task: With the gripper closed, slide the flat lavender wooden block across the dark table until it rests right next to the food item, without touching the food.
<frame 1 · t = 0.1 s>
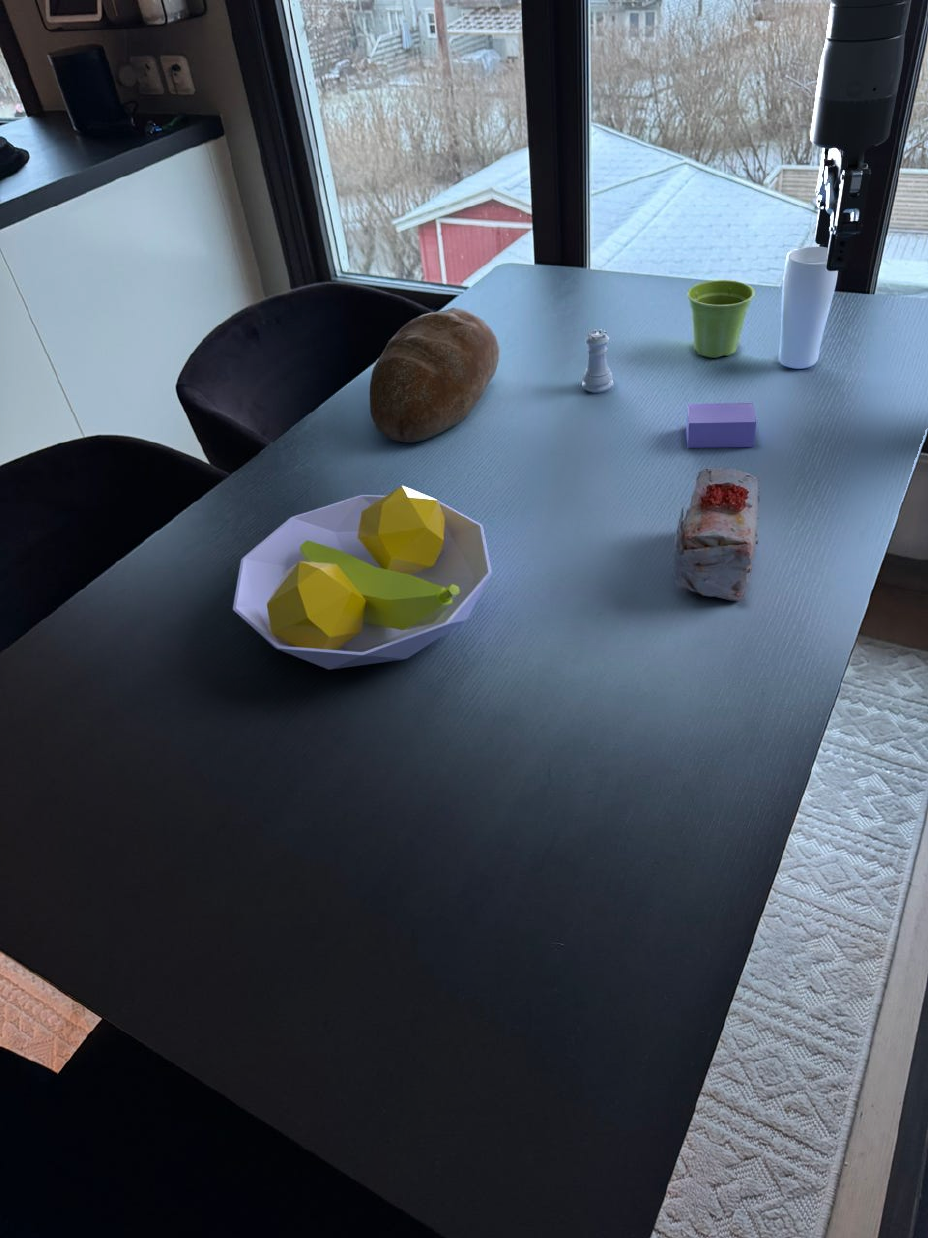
hand: (830, 255, 98), 22 cm above the table, tool pointing down, fingers open, 8 cm apart
bread: (439, 398, 130), on the table
rook chess piece: (597, 387, 127), on the table
plant pot: (715, 350, 132), on the table
fruit bowl: (375, 616, 93), on the table
lavender block: (719, 437, 113), on the table
drinking glass: (797, 363, 126), on the table
food item: (714, 568, 93), on the table
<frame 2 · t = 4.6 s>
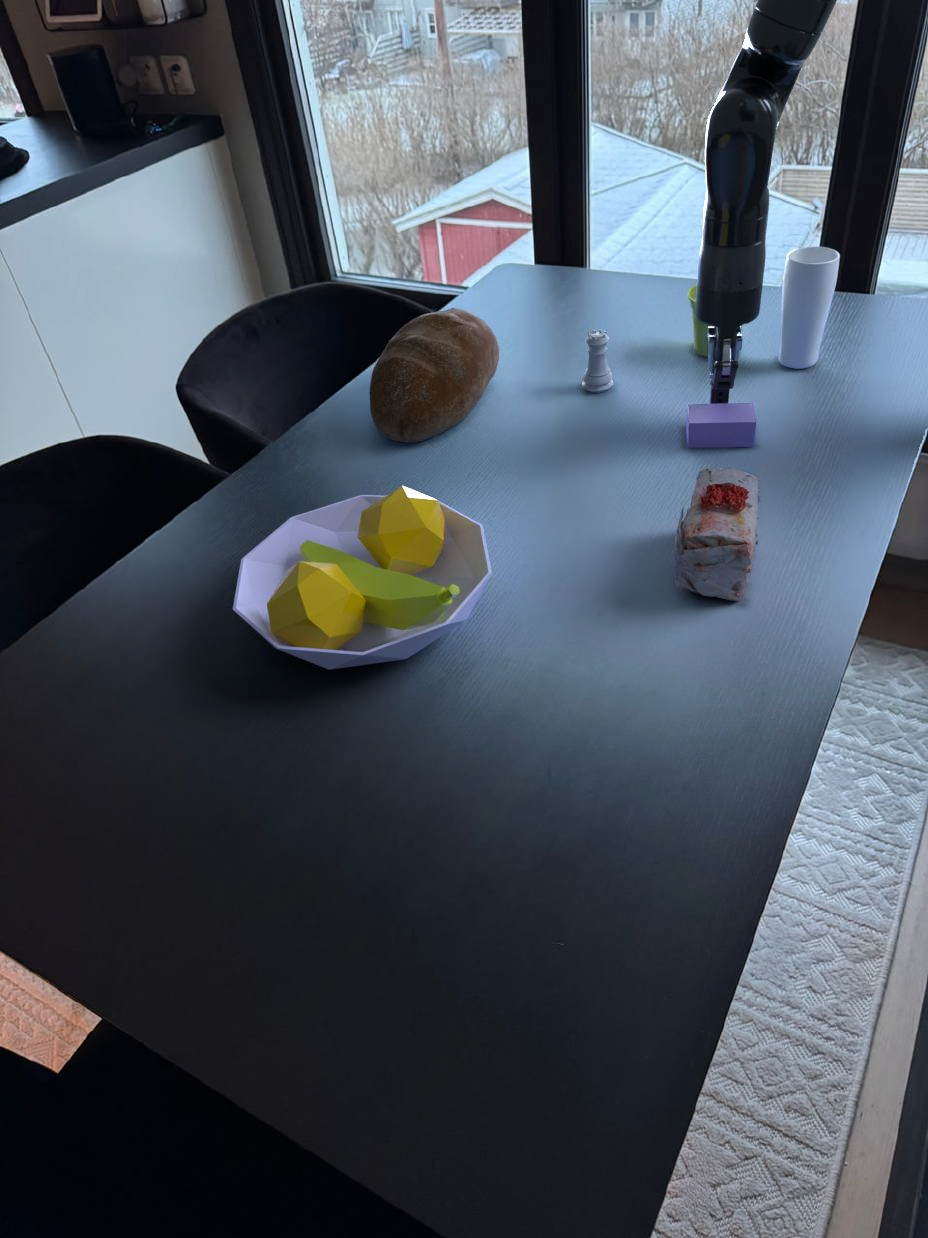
hand: (718, 410, 115), 2 cm above the table, tool pointing down, fingers closed
lavender block: (719, 437, 113), on the table, touching gripper
everything else where it was.
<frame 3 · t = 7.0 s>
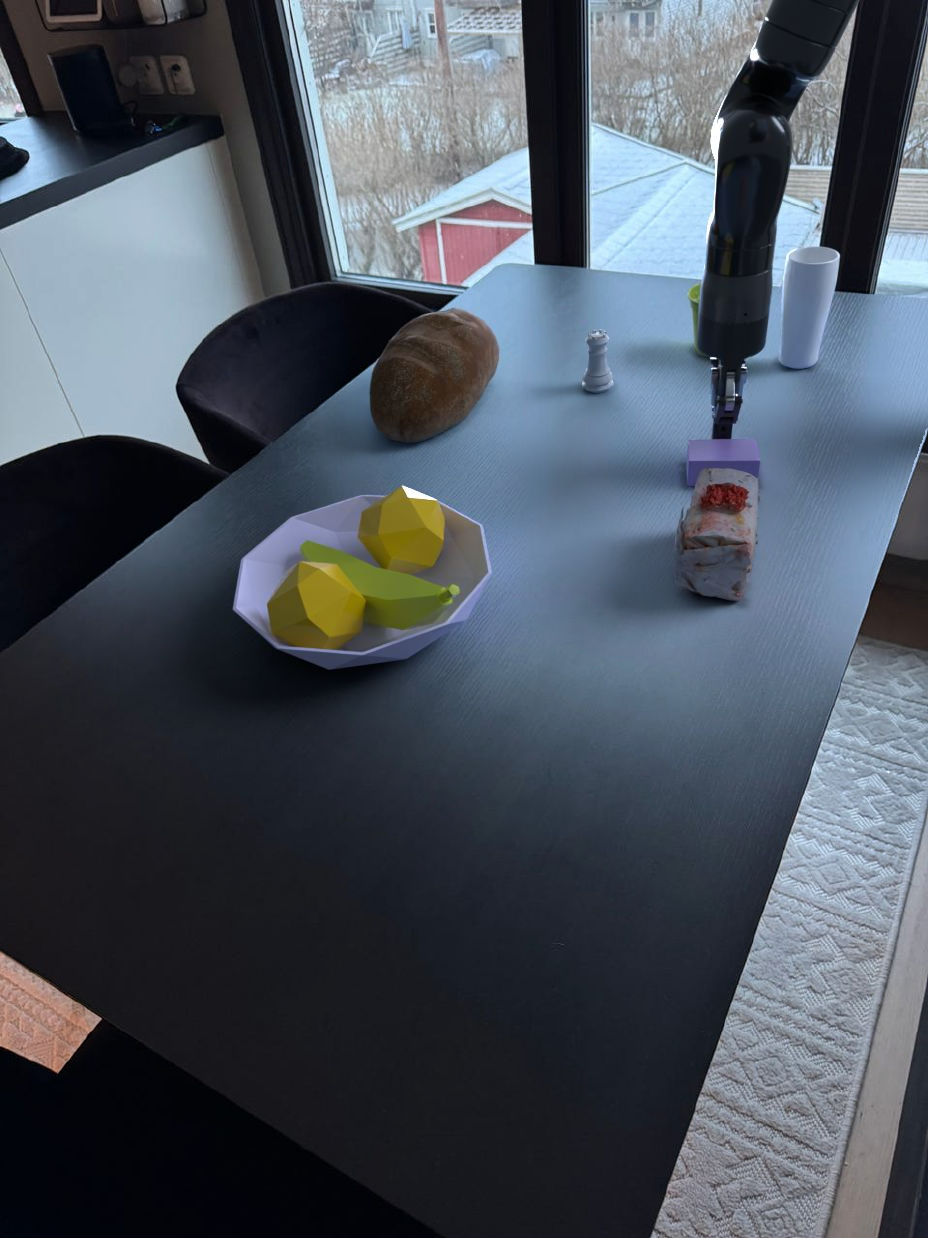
hand: (720, 444, 108), 2 cm above the table, tool pointing down, fingers closed
lavender block: (720, 475, 106), on the table, touching gripper
everything else where it was.
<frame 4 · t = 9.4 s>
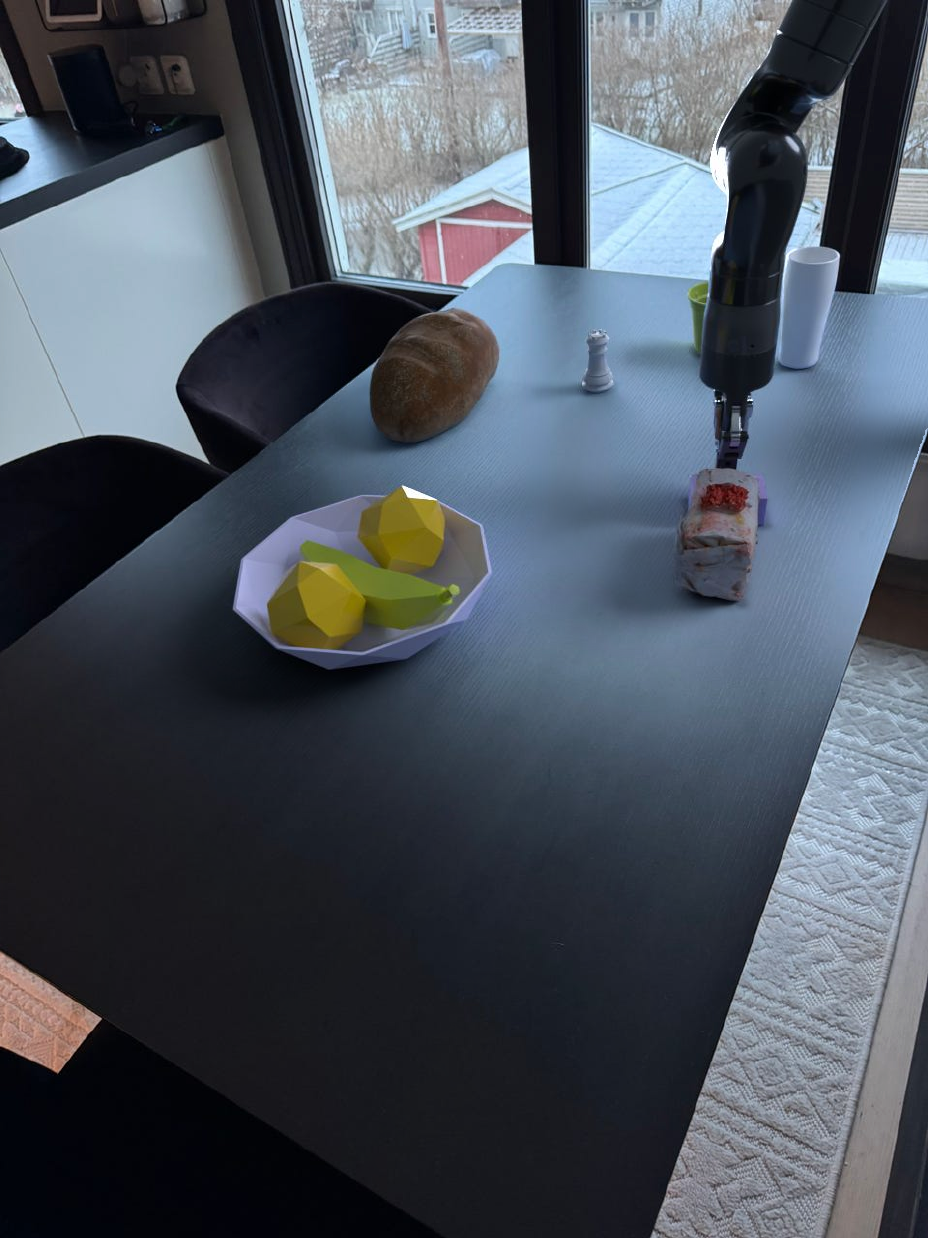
hand: (724, 479, 102), 2 cm above the table, tool pointing down, fingers closed
lavender block: (725, 512, 100), on the table, touching gripper
everything else where it was.
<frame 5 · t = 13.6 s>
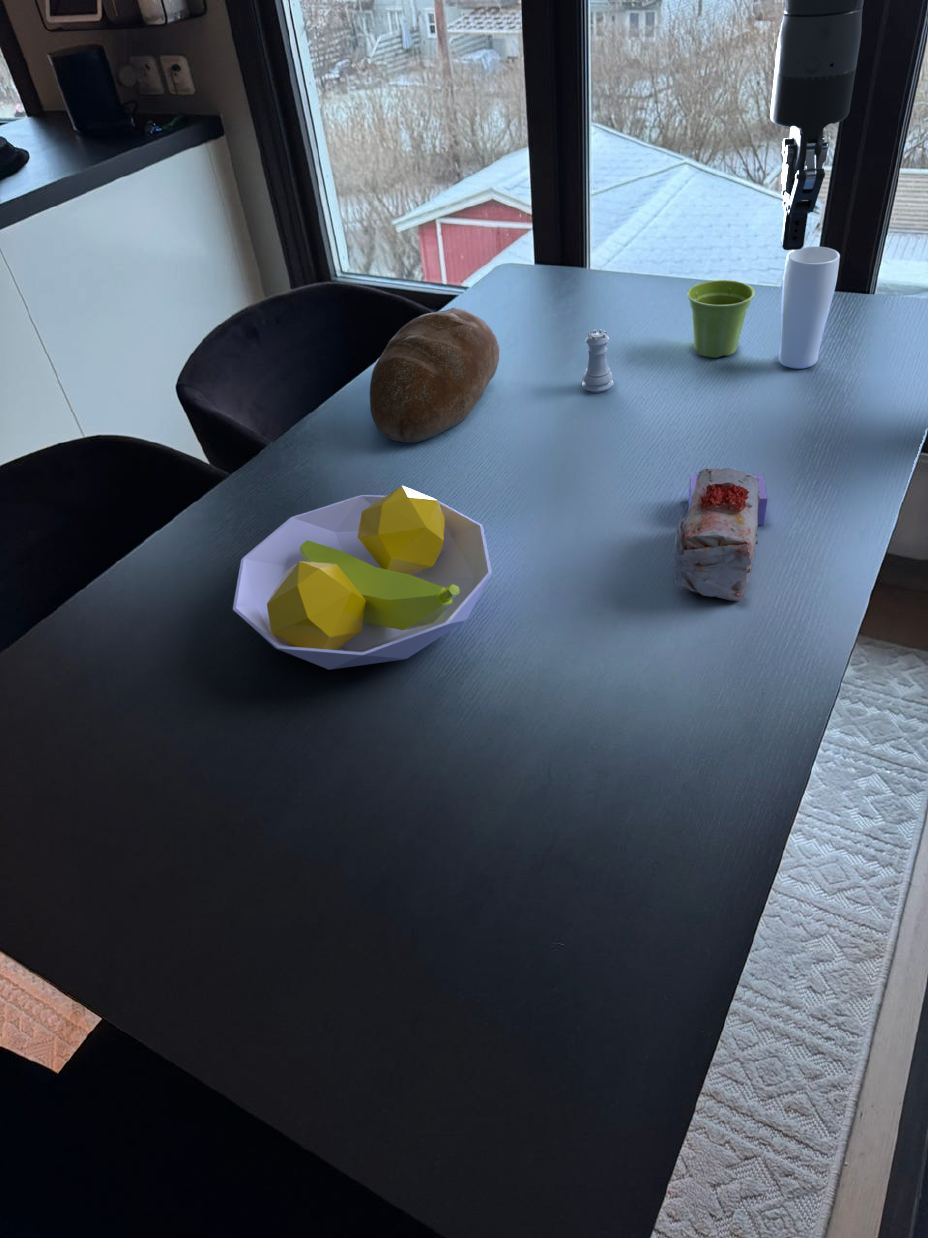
hand: (791, 247, 97), 23 cm above the table, tool pointing down, fingers closed
lavender block: (725, 512, 100), on the table
everything else where it was.
at the end: lavender block inside the target area on the table beside the food item (1.9 cm from its centre), on the table; lavender block moved 16.9 cm from its start; food item moved 0.2 cm from its start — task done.
